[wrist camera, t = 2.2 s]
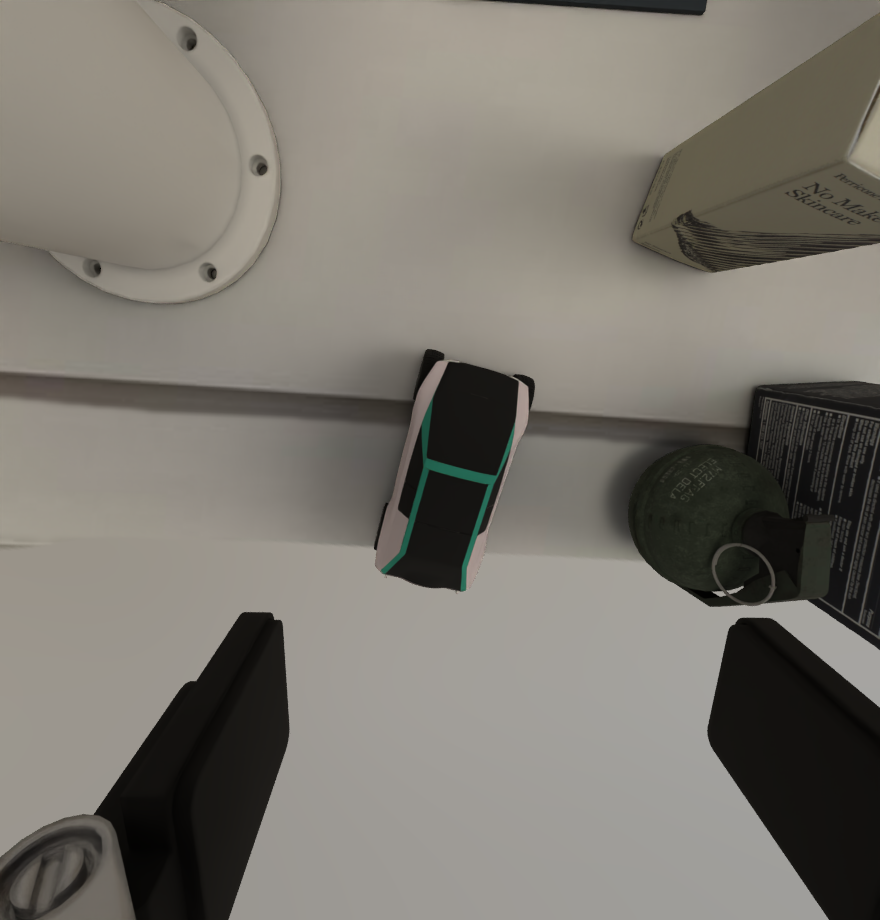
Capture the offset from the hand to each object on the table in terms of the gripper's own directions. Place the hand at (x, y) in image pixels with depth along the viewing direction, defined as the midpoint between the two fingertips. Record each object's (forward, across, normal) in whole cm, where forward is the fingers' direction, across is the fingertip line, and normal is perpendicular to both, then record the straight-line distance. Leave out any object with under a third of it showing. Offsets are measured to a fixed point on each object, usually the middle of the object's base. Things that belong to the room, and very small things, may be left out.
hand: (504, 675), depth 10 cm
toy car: (+18, 0, 0) cm, 19 cm away
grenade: (+18, -13, +3) cm, 23 cm away
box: (+18, -12, -13) cm, 25 cm away
